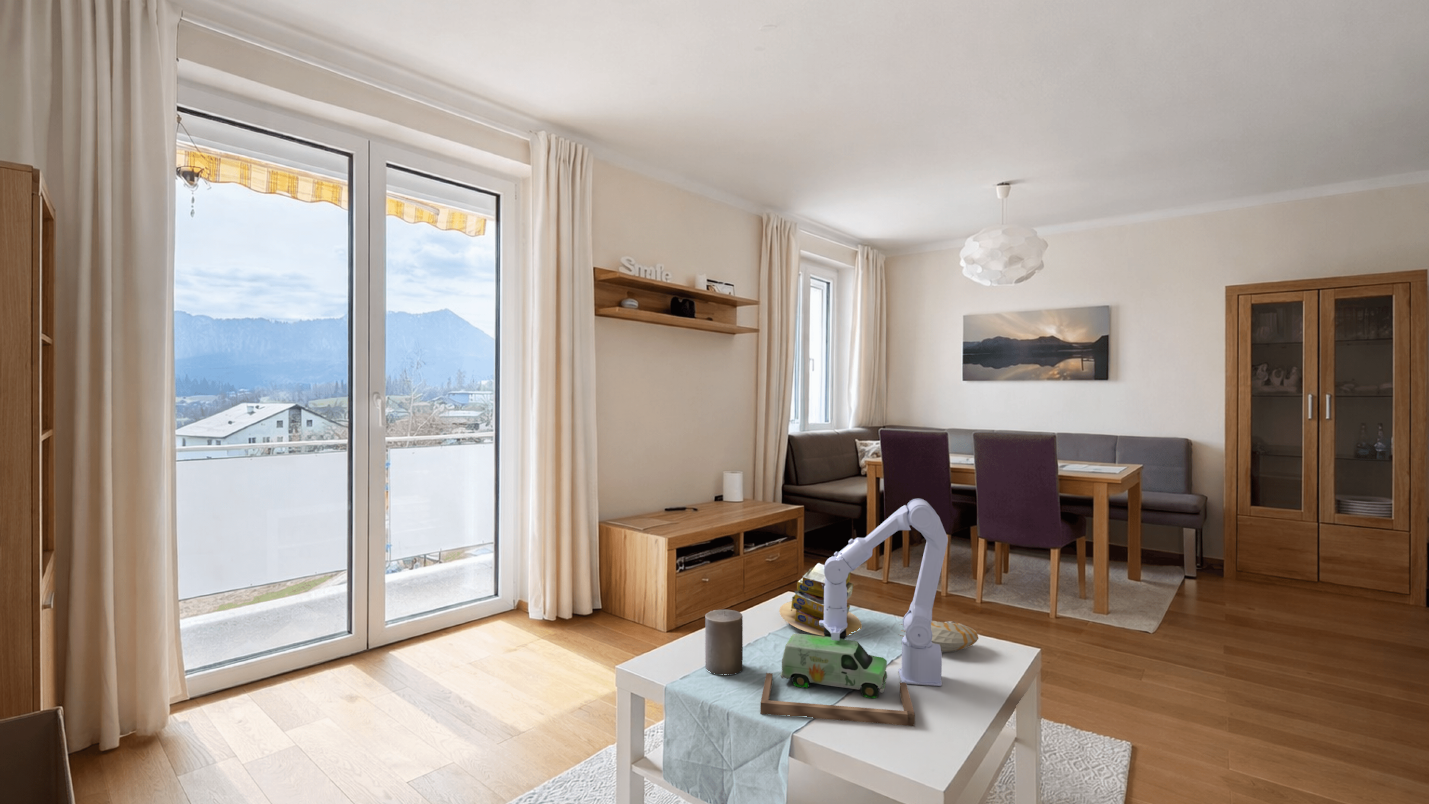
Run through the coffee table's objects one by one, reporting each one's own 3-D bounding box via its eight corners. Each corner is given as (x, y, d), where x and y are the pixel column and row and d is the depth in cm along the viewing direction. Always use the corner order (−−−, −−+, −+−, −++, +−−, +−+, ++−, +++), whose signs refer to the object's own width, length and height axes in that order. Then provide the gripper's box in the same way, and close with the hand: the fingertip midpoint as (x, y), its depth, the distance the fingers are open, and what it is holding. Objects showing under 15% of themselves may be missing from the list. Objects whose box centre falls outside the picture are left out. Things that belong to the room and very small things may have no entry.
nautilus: (888, 646, 196) (912, 635, 207) (964, 662, 181) (985, 649, 193) (888, 618, 196) (912, 608, 207) (963, 631, 182) (985, 620, 193)
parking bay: (906, 693, 165) (906, 682, 165) (914, 726, 149) (914, 714, 149) (766, 683, 170) (766, 672, 170) (760, 713, 154) (760, 702, 154)
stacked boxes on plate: (877, 623, 213) (877, 568, 213) (832, 645, 195) (832, 585, 195) (810, 605, 230) (810, 554, 230) (762, 623, 212) (763, 569, 211)
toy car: (884, 700, 161) (884, 658, 161) (779, 685, 169) (779, 644, 169) (888, 681, 171) (888, 641, 171) (788, 667, 179) (789, 629, 179)
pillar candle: (750, 667, 179) (750, 609, 179) (725, 679, 172) (725, 618, 172) (722, 658, 186) (722, 601, 185) (696, 669, 178) (696, 610, 178)
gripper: (819, 595, 184) (818, 646, 185) (818, 613, 170) (818, 668, 170) (846, 597, 183) (846, 648, 184) (848, 615, 169) (847, 670, 169)
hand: (834, 658), depth 177 cm, fingers closed
